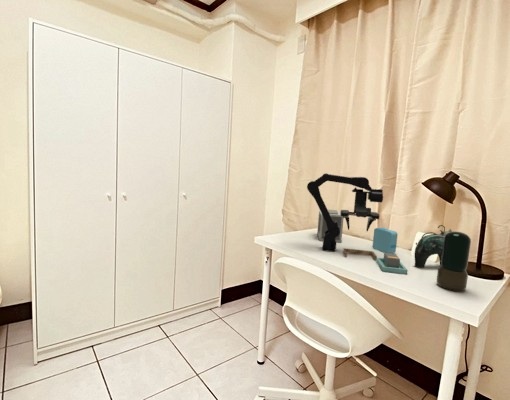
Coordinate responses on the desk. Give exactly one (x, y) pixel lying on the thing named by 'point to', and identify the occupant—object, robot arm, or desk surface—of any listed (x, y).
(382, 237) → the data package
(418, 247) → the travel neck pillow
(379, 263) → the tray
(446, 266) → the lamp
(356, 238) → the desk surface
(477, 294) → the desk surface
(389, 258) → the grey brown block
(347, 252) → the grey brown u-shaped piece
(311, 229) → the desk surface
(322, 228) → the alarm clock
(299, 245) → the desk surface
